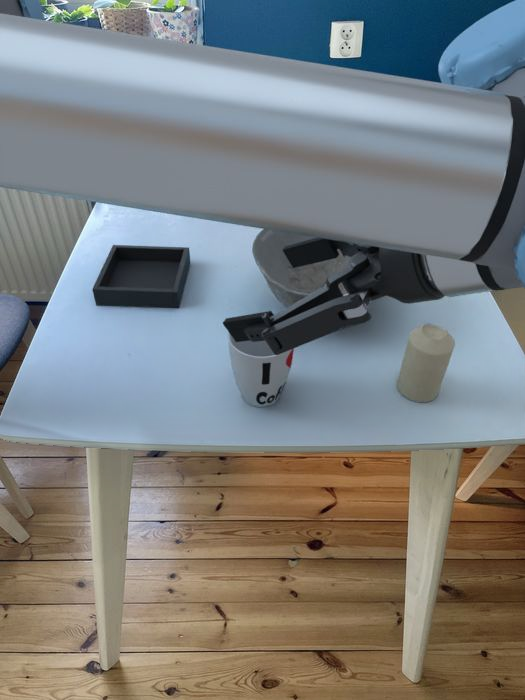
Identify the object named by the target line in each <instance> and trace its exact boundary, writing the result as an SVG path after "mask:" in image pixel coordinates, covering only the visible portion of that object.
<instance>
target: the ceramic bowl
mask: <svg viewBox="0 0 525 700" xmlns="http://www.w3.org/2000/svg"><path fill="white" fill-rule="evenodd" d="M314 238H317V237H311V236H305V235H299V234H293V233H286V232H280V231H274V230H267V229H261V231H259V233H257V235H256V237H255V238H254V240H253V243H252V248H251V250H252V251H251V252H252V253H251V254H252V256H253V259H254V261H255V264H256V265H257V267H258V270H259V271H260V272H261V274H262V276H263V278H264V280H265V282H266V283H267V286H268V288H269V289H270V291H271V292H272V294H273V295H274V297H275V298H276V300H277V301H279V302H280V304H282V305H283V306H284V308H287V307H289V306H291V305H292V304H294V303H296V302H298V301H299V300H301V299H303V298H304V297H306V296H308V295H310V294H311V293H313V292H315V291H317V290H318V289H320V288H322V287H324V286H325V285H326V284H327V280H328V278H329V277H331V276H333V275H335V274H336V273H338V272H340V271H342V270H343V269H344V268H345V266H346V265H347V263H348V260H349V259H350V257H349V256H346V255H345V257H343V255H342V253H341V251H340V249H337V251H338V253H339V255H338V257H337V258H335V259H330V260H326V261H322V262H317V263H313V264H309V265H304V266H300V267H296V268H293V267H292V266H291V264H290V262H289V261H288V259H287V257H286V255H285V254H284V252H283V250H282V249H283V248H284V247H285V246H288V245H292V244H295V243H299V242H303V241H306V240H310V239H314ZM338 287H339V289H340V291H341V293H342V294H343V295H344V294H345V293H348V292H347V291H346V290H345V288H344V286H343V284H342V282H341V283H340V284H339V286H338ZM350 295H351V294H350Z"/></svg>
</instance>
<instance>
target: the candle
mask: <svg viewBox="0 0 525 700" xmlns="http://www.w3.org/2000/svg"><path fill="white" fill-rule="evenodd" d="M407 339H408V340H407V343H406V347H405V351H404V353H403V358H402V362H401V366H400V370H399V374H398V377H397V383H396V386H397V390H398V391H399V393H400V394H401V395H402V396H403V397H404V398H406V399H408V400H409V401H412V402H416V403H428V402H431V401H433V400H435V399H436V398H437V396H438V395H439V392H440V390H441V387H442V384H443V381H444V379H445V376H446V373H447V370H448V366H449V365H450V361H451V358H452V355H453V352H454V349H455V346H456V342H455V338H454V337H453V336H452V334H451V333H449V332H448V331H447V329H445V328H442V327H440V326H437V325H434V324H429V323H428V324H422V325H420V326H417V327H415V328H413V329H412V330H410V333H409V335H408V338H407Z"/></svg>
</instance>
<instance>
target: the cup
mask: <svg viewBox="0 0 525 700" xmlns="http://www.w3.org/2000/svg"><path fill="white" fill-rule="evenodd" d="M227 342H228V351H229V359H230V365H231V371H232V373H233V377H234V380H235V384H236V387H237V389H238V391H239V393H240V395H241V397H242V399H243V401H244V402H246V403H247V404H248V405H250V406H253V407H258V408H266V407H269V406H272V405H273V404H275V403H276V402H277V401H278V400H279V398H280V396H281V394H282V393H283V391H284V388H285V387H286V385H287V382H288V379H289V374H290V371H291V369H292V368H291V367H292V364H293V358H294V351H295V348H294V349H291V350H289V351H286V352H284V353H282V354H279V355H274V353H273V352H272V350H271V349H270V347H269V346H268V344H267V343H266V341H257V342H252V341H242V342H235V340H234V339H233V337H232V336H231V334H230V333H229V332H228V331H227Z"/></svg>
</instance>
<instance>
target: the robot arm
mask: <svg viewBox="0 0 525 700" xmlns="http://www.w3.org/2000/svg"><path fill="white" fill-rule="evenodd" d="M437 71H438V76H439V79H440V82H436V81H431V80H424V79H419V78H418V79H417V78H412V77H406V76H399V75H393V74H387V73H381V72H375V71H367V70H361V69H356V68H349V67H342V66H337V65H329V64H324V63H323V64H322V63H318V62H310V61H304V60H298V59H292V58H285V57H280V56H274V55H266V54H260V53H254V52H248V51H241V50H235V49H228V48H223V47H222V48H221V47H216V46H211V45H203V44H197V43H191V42H184V41H178V40H171V39H165V38H160V37H159V38H158V37H153V36H147V35H140V34H133V33H127V32H122V31H115V30H108V29H103V28H96V27H89V26H83V25H77V24H70V23H64V22H57V21H53V20H52V21H51V20H46V19H45V14H44V13H43V8H42V3H41V0H0V188H4V189H10V190H16V191H22V192H30V193H35V194H41V195H47V196H55V197H59V198H60V197H61V198H67V199H74V200H78V201H79V200H80V201H86V202H92V203H99V204H104V205H110V206H117V207H122V208H124V207H125V208H129V209H136V210H143V211H148V212H154V213H161V214H167V215H174V216H179V217H180V216H181V217H186V218H191V219H193V218H194V219H199V220H205V221H211V222H217V223H224V224H231V225H236V226H242V227H243V226H244V227H249V228H256V229H261V230H263V229H267V230H274V231H280V232H286V233H293V234H299V235H305V236H311V237H317V238H314V239H310V240H306V241H303V242H299V243H295V244H292V245H288V246H285V247H284V248H283V249H282V250H283V252H284V254H285V255H286V257H287V259H288V261H289V262H290V264H291V266H292V267H293V268H296V267H300V266H304V265H309V264H313V263H317V262H322V261H326V260H330V259H335V258H337V257H338V255H339V253H338V251H337V249H340V251H341V253H342V255H343V257H345V255H346V256H349V257H350V259H349V260H348V263H347V265H346V266H345V268H344V269H343V270H342V271H340V272H338V273H336V274H335V275H333V276H331V277H329V278H328V280H327V284H326V285H325V286H324V287H322V288H320V289H318V290H317V291H315V292H313V293H311V294H310V295H308V296H306V297H304V298H303V299H301V300H299V301H298V302H296V303H294V304H292V305H291V306H289V307H287V308H286V307H284V309H282V310H280V311H278V312H276V313H275V314H274V313H273V311H272V310H268V311H261V312H256V313H249V314H245V315H239V316H238V315H237V316H231V317H226V318H224V320H223V321H222V324H223V326H224V327H225V329H226V331H227V333H228V332H229V333H230V334H231V336H232V337H233V339H234V340H235V342H242V341H252V342H257V341H266V343H267V344H268V346H269V347H270V349H271V350H272V352H273V353H274V355H279V354H282V353H284V352H286V351H289V350H291V349H294V350H295V349H296V348H299V347H301V346H303V345H305V344H308V343H311V342H313V341H315V340H317V339H321V338H322V337H325V336H327V335H330V334H333V333H335V332H337V331H340V330H342V329H344V328H347V327H352V326H357V325H362V324H365V323H367V322H369V321H370V320H371V319H372V315H371V313H370V311H369V310H368V308H369V305H370V304H371V302H374V301H376V300H378V299H381V298H383V297H384V298H385V297H389V298H392V299H394V300H396V301H398V302H400V303H402V304H405V305H406V304H407V305H410V304H417V303H424V302H430V301H437V300H442V299H443V298H445V297H448V298H454V297H461V296H468V295H474V294H481V293H489V292H492V291H496V292H497V291H505V290H510V289H511V290H513V289H520V288H524V289H525V0H513V1H511V2H509V3H507V4H505V5H502V6H500V7H499V8H497V9H496V10H493V11H492V12H490V13H488V14H487V15H485V16H483V17H481V18H479V20H477V21H475V22H474V23H473V24H472V25H470V26H468V28H465V30H464V31H462V32H461V33H459V35H458V36H456V37H455V38H454V39H453V40H452V41H451V42H450V43H449V45H448V46H447V47H446V48H445V50H444V51H443V53H442V55H441V57H440V59H439V62H438V70H437ZM341 282H342V284H343V286H344V288H345V290H346V291H347V292H348V293H345V294H344V295H343V294H342V293H341V291H340V289H339V287H338V286H339V284H340V283H341ZM350 294H351V295H350Z"/></svg>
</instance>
